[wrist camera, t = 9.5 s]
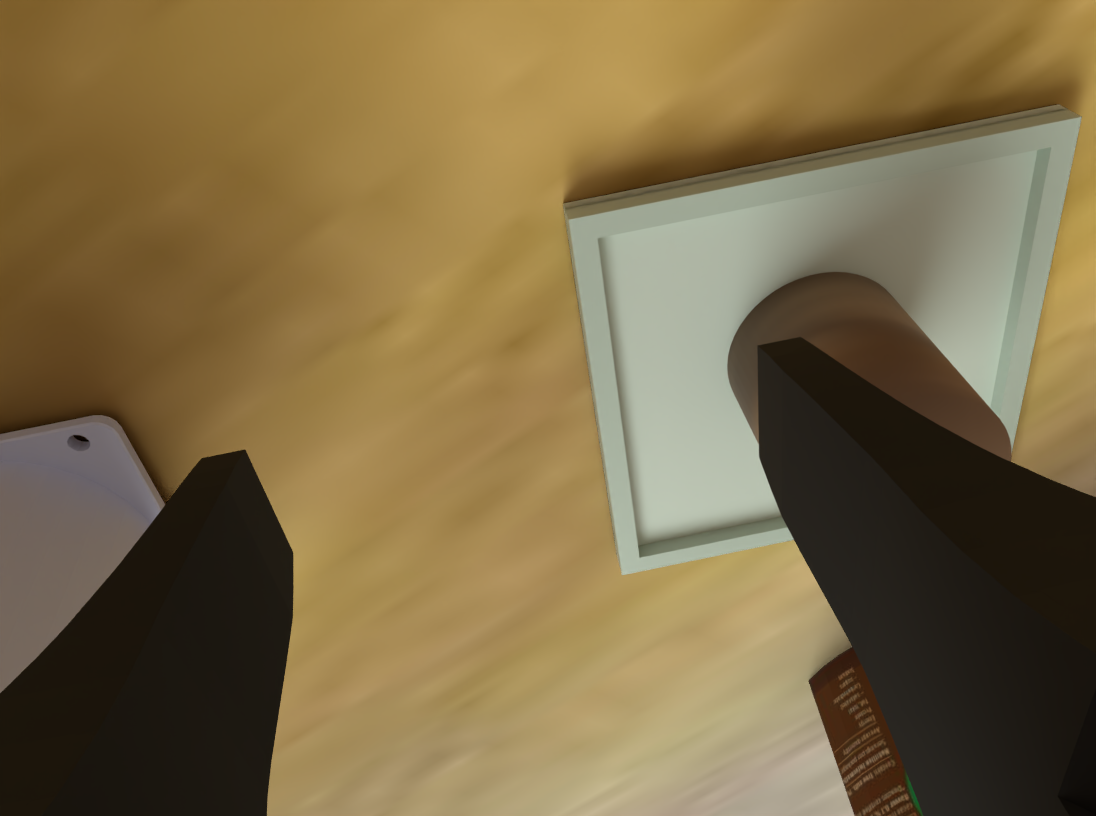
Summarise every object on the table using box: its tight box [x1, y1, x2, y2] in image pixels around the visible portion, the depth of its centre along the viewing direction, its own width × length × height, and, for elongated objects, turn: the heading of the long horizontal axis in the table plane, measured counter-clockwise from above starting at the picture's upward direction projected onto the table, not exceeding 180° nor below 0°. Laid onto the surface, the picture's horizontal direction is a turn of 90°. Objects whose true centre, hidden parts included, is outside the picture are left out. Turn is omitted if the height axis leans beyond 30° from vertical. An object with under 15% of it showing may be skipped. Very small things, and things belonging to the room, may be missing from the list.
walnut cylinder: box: [727, 272, 1011, 462], centre depth 22 cm, size 5×5×6 cm
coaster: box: [563, 104, 1082, 575], centre depth 25 cm, size 12×12×1 cm
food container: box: [809, 647, 923, 816], centre depth 30 cm, size 12×6×10 cm, turn 64°
